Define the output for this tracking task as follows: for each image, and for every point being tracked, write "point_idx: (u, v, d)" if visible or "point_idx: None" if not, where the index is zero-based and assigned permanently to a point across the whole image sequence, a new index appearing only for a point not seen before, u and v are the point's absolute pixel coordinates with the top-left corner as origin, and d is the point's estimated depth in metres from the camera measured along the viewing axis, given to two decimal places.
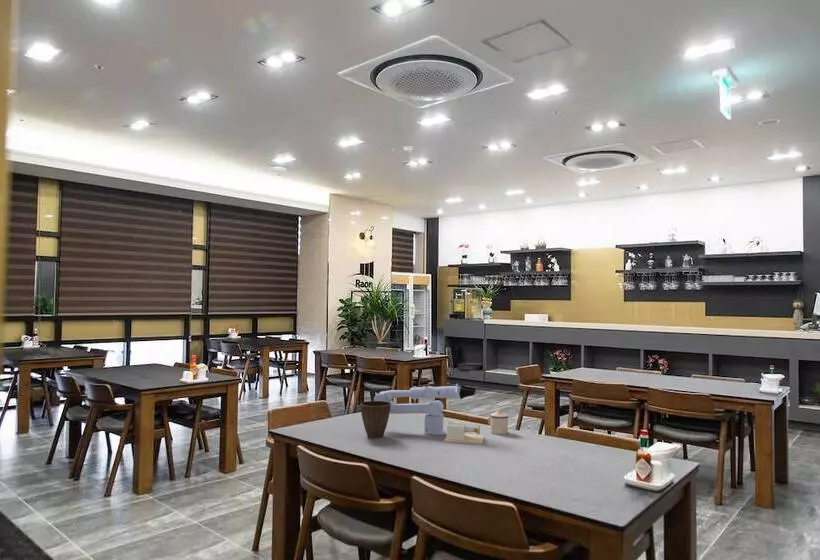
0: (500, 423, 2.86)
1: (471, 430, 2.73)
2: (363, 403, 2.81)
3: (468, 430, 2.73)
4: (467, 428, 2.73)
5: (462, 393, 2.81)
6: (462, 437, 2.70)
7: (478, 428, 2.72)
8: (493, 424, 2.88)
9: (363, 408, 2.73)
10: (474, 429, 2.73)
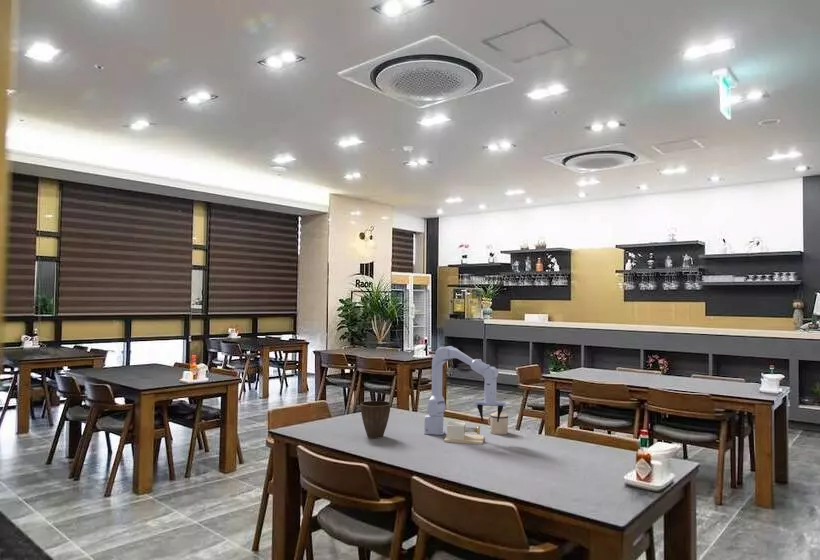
0: (500, 423, 2.86)
1: (471, 430, 2.73)
2: (363, 403, 2.81)
3: (468, 430, 2.73)
4: (467, 428, 2.73)
5: None
6: (462, 437, 2.70)
7: (478, 428, 2.72)
8: (493, 424, 2.88)
9: (363, 408, 2.73)
10: (474, 429, 2.73)
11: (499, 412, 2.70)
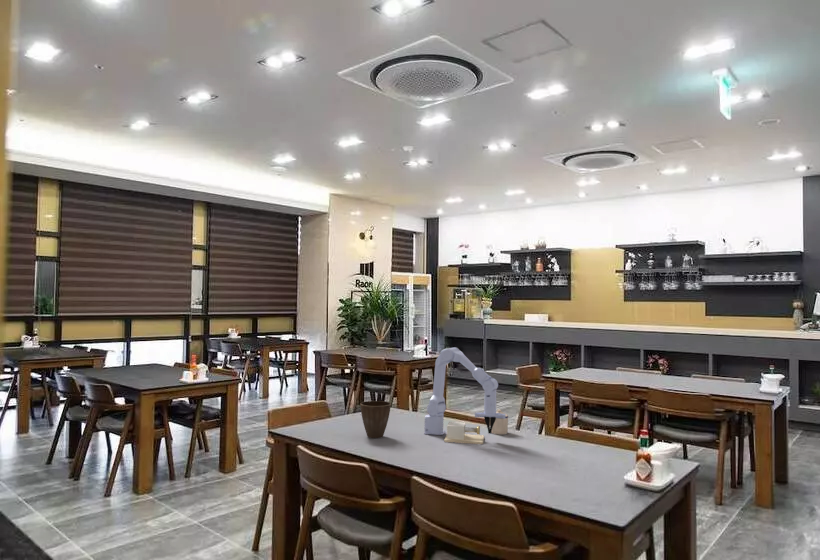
0: (500, 423, 2.86)
1: (471, 430, 2.73)
2: (363, 403, 2.81)
3: (468, 430, 2.73)
4: (467, 428, 2.73)
5: None
6: (462, 437, 2.70)
7: (478, 428, 2.72)
8: None
9: (363, 408, 2.73)
10: (474, 429, 2.73)
11: (492, 424, 2.70)
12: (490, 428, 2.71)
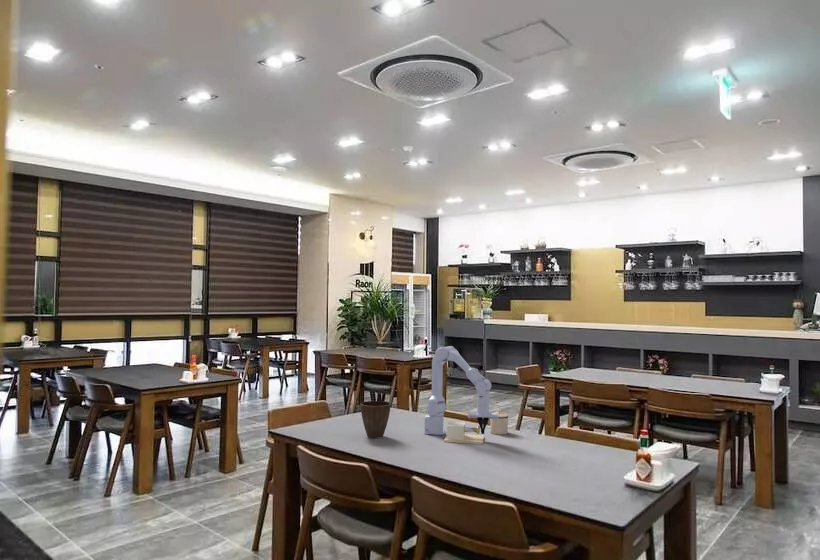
0: (500, 423, 2.86)
1: (471, 430, 2.73)
2: (363, 403, 2.81)
3: (468, 430, 2.73)
4: (467, 428, 2.73)
5: None
6: (462, 437, 2.70)
7: (478, 428, 2.72)
8: (493, 424, 2.88)
9: (363, 408, 2.73)
10: (474, 429, 2.73)
11: (484, 424, 2.71)
12: (483, 429, 2.72)
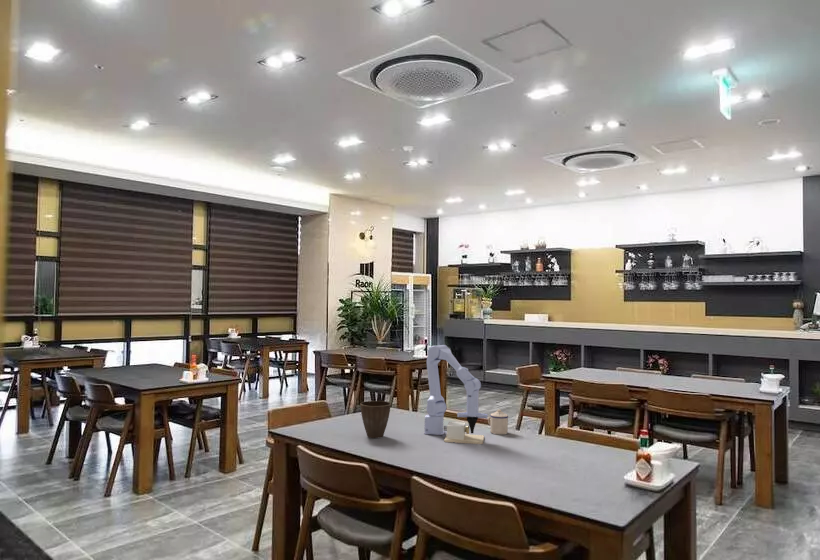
0: (500, 423, 2.86)
1: None
2: (363, 403, 2.81)
3: None
4: None
5: None
6: (462, 437, 2.70)
7: (468, 427, 2.73)
8: (493, 424, 2.88)
9: (363, 408, 2.73)
10: None
11: (474, 423, 2.72)
12: (472, 428, 2.72)
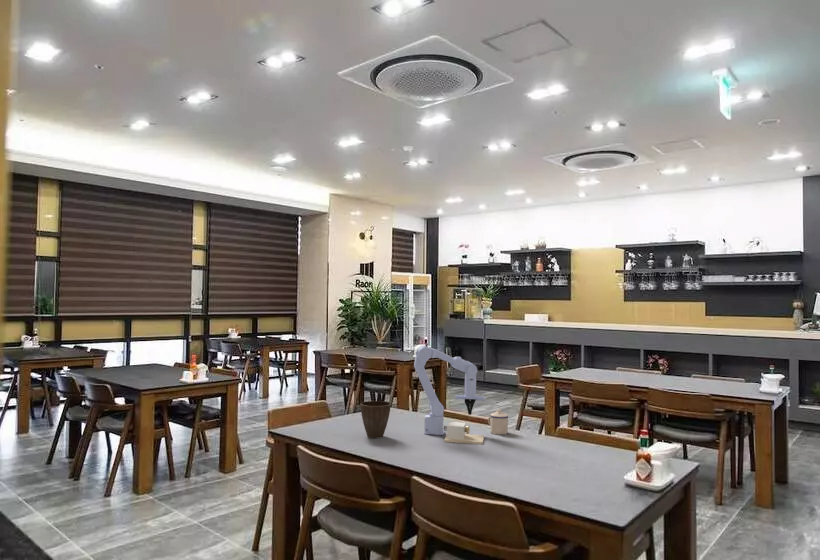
0: (500, 423, 2.86)
1: None
2: (363, 403, 2.81)
3: None
4: None
5: None
6: (462, 437, 2.70)
7: (468, 427, 2.73)
8: (493, 424, 2.88)
9: (363, 408, 2.73)
10: None
11: (471, 405, 2.87)
12: (470, 410, 2.87)
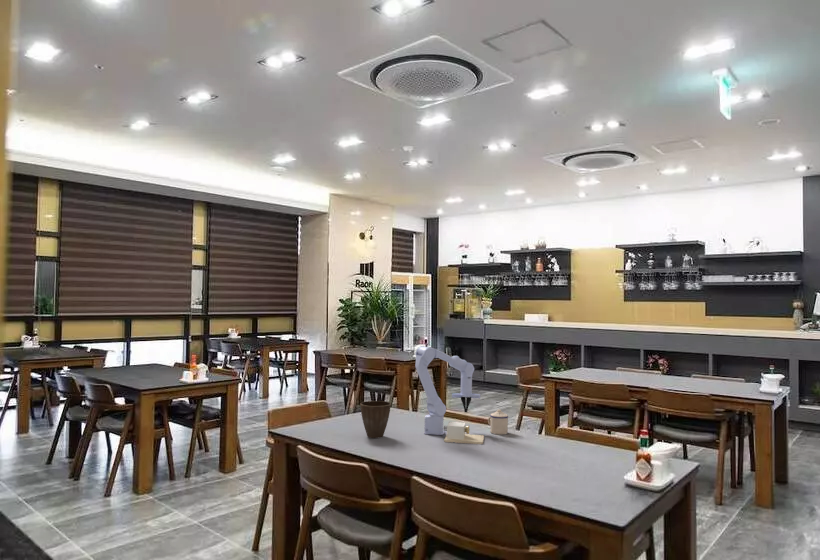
0: (500, 423, 2.86)
1: None
2: (363, 403, 2.81)
3: None
4: None
5: None
6: (462, 437, 2.70)
7: (468, 427, 2.73)
8: (493, 424, 2.88)
9: (363, 408, 2.73)
10: None
11: (468, 403, 2.93)
12: (466, 407, 2.93)
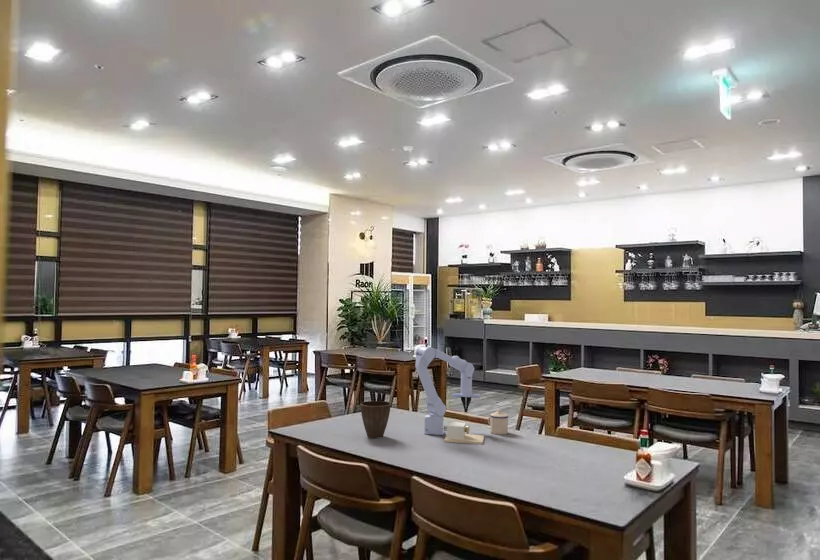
0: (500, 423, 2.86)
1: None
2: (363, 403, 2.81)
3: None
4: None
5: None
6: (462, 437, 2.70)
7: (468, 427, 2.73)
8: (493, 424, 2.88)
9: (363, 408, 2.73)
10: None
11: (468, 403, 2.93)
12: (466, 407, 2.93)
